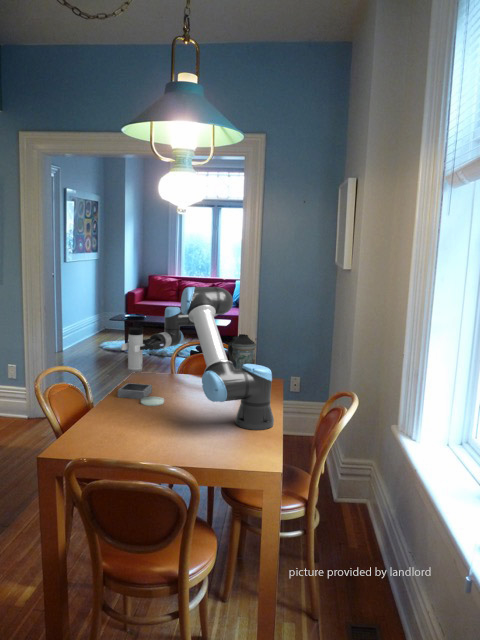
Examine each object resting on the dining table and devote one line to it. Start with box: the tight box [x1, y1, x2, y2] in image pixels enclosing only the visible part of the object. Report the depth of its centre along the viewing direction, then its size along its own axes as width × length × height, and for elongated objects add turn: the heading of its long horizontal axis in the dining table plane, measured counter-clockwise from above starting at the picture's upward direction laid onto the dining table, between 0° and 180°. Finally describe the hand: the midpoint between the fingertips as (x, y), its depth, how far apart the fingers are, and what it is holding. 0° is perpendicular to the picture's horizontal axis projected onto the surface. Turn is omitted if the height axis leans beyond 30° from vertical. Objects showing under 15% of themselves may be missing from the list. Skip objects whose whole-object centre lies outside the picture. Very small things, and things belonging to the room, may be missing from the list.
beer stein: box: [227, 333, 257, 369], centre depth 256 cm, size 16×19×25 cm
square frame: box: [117, 382, 153, 400], centre depth 229 cm, size 12×12×4 cm
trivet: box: [140, 395, 165, 407], centre depth 219 cm, size 10×10×1 cm
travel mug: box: [127, 325, 144, 373], centre depth 227 cm, size 6×7×20 cm
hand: (128, 348), depth 222 cm, fingers closed on travel mug, 6 cm apart
